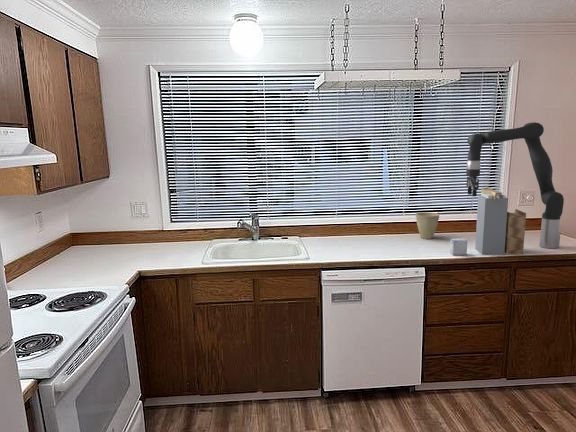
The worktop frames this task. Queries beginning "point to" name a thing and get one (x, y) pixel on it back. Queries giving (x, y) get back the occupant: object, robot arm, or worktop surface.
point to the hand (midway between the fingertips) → (471, 195)
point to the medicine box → (458, 247)
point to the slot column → (491, 224)
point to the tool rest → (515, 232)
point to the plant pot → (427, 224)
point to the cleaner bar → (492, 193)
